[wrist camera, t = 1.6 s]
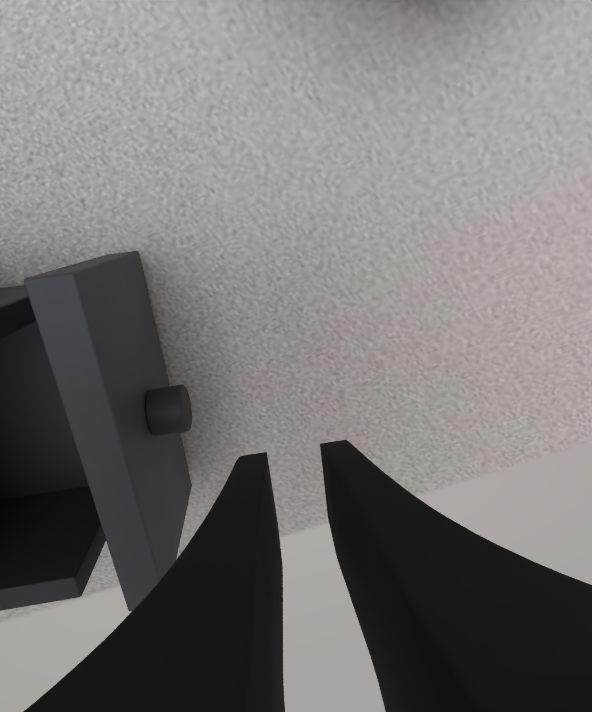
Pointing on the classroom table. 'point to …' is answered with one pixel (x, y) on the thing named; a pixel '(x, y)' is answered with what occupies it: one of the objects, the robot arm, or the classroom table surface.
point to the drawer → (87, 435)
